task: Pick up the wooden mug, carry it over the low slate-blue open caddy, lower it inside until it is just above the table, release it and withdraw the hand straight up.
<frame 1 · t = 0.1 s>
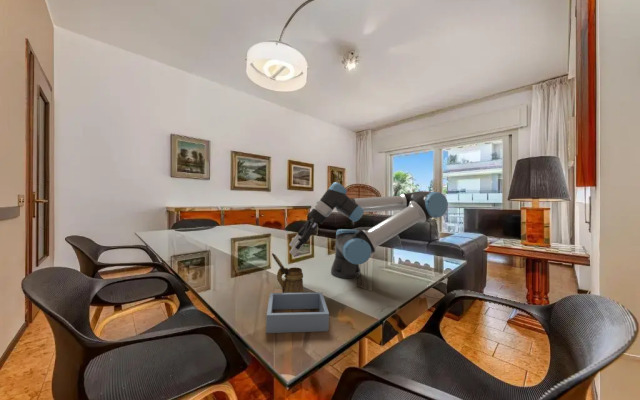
hand: (291, 250, 112), 15 cm above the table, tool tilted 35°, fingers open, 13 cm apart
wooden mug: (287, 298, 99), on the table
caddy: (296, 318, 83), on the table
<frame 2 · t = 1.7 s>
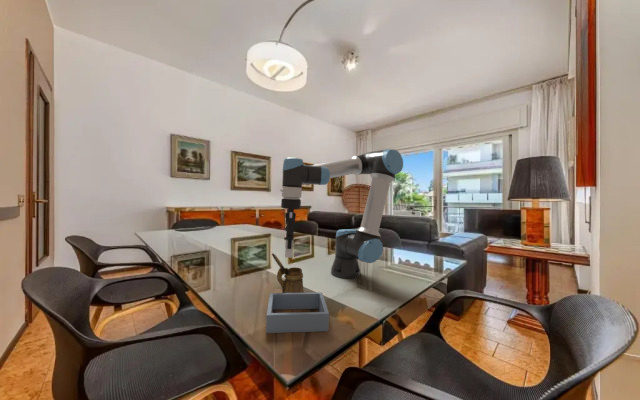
hand: (288, 252, 98), 18 cm above the table, tool pointing down, fingers open, 13 cm apart
nothing on the table moved.
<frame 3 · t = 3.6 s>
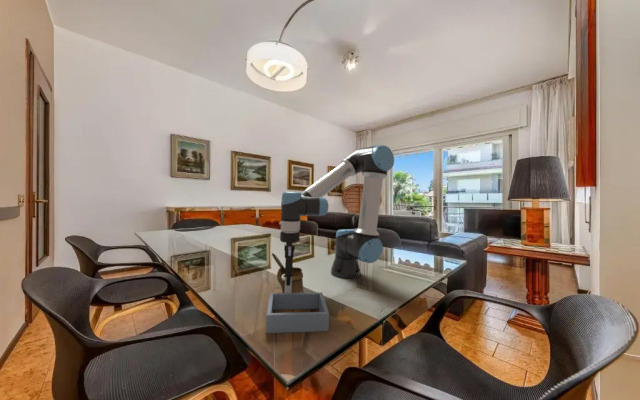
hand: (287, 288, 99), 4 cm above the table, tool pointing down, fingers closed on wooden mug, 7 cm apart
wooden mug: (287, 297, 99), on the table, touching gripper
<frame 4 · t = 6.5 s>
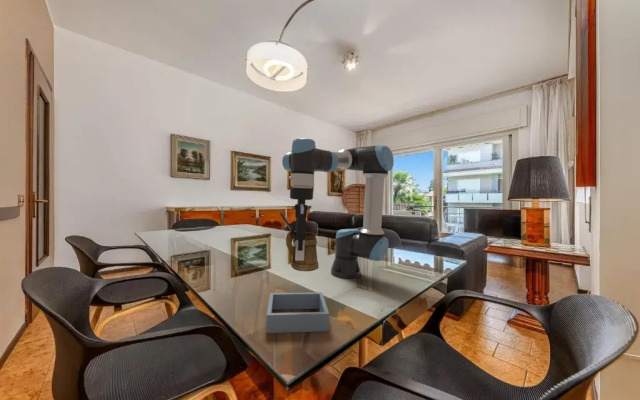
hand: (298, 256, 82), 21 cm above the table, tool pointing down, fingers closed on wooden mug, 7 cm apart
wooden mug: (298, 267, 83), point 17 cm above the table, touching gripper
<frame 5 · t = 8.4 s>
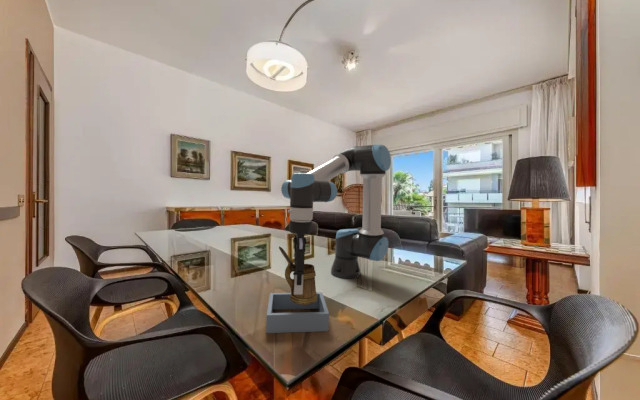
hand: (297, 288, 83), 10 cm above the table, tool pointing down, fingers closed on wooden mug, 7 cm apart
wooden mug: (297, 300, 83), point 6 cm above the table, touching gripper
when the fingers open (6 cm above the table, at t = 9.7 s): wooden mug drops 2 cm, resting in caddy.
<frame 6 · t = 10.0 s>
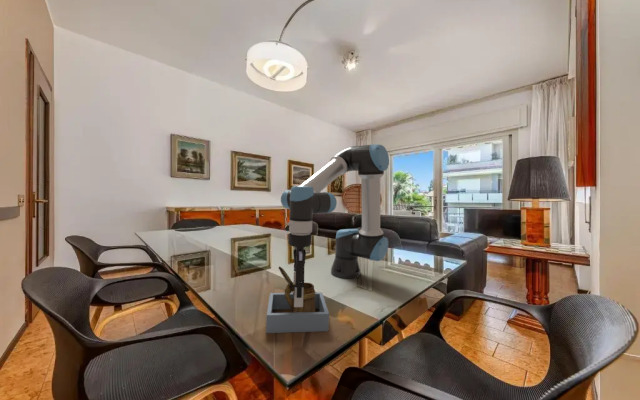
hand: (297, 297, 83), 7 cm above the table, tool pointing down, fingers open, 11 cm apart
wooden mug: (296, 319, 84), resting in caddy
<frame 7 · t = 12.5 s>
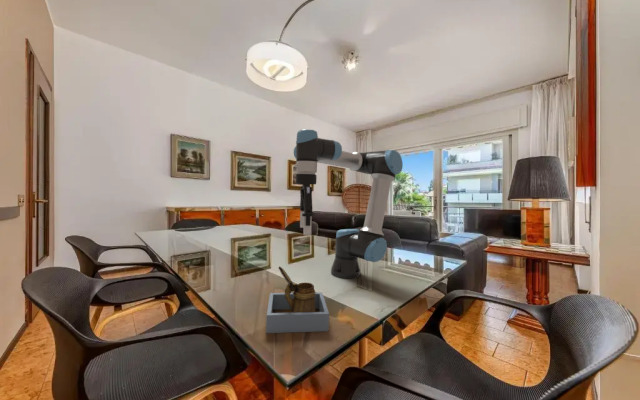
hand: (305, 230, 93), 28 cm above the table, tool pointing down, fingers open, 13 cm apart
nothing on the table moved.
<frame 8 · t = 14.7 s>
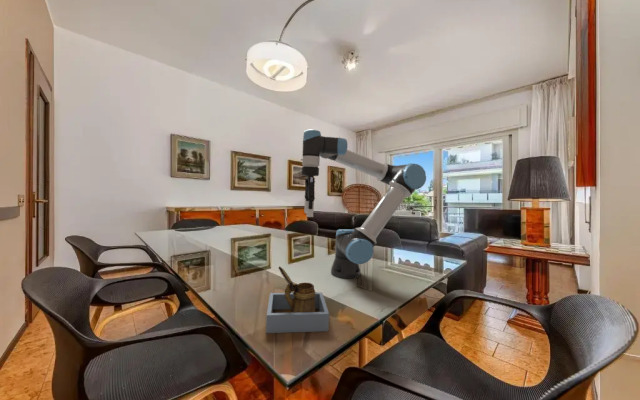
hand: (308, 215, 110), 32 cm above the table, tool pointing down, fingers open, 13 cm apart
nothing on the table moved.
at the end: wooden mug inside the target area on the caddy (0.1 cm from its centre), point 0.0 cm above the caddy's base; wooden mug tilted 0°; the gripper is holding nothing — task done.
